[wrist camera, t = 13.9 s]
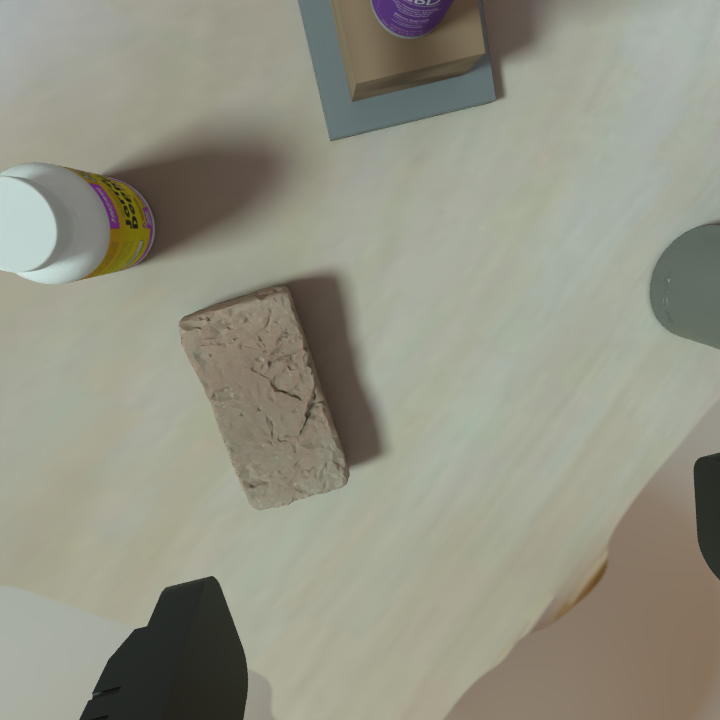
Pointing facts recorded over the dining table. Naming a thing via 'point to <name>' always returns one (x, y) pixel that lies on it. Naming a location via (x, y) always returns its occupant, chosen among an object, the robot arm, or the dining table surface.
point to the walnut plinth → (404, 49)
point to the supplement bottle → (70, 224)
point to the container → (410, 16)
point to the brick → (266, 397)
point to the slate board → (393, 106)
